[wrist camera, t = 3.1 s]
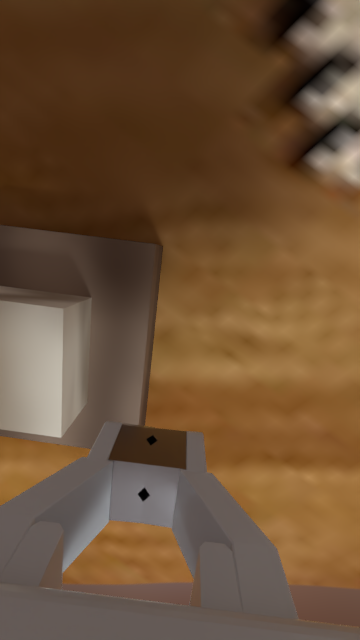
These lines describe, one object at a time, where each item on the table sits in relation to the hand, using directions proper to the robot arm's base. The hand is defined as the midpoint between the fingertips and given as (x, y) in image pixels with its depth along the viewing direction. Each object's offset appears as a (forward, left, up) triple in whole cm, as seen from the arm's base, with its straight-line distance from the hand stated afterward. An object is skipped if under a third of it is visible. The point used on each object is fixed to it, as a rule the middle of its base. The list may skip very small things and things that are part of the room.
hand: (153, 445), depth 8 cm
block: (+7, 0, -6) cm, 10 cm away
